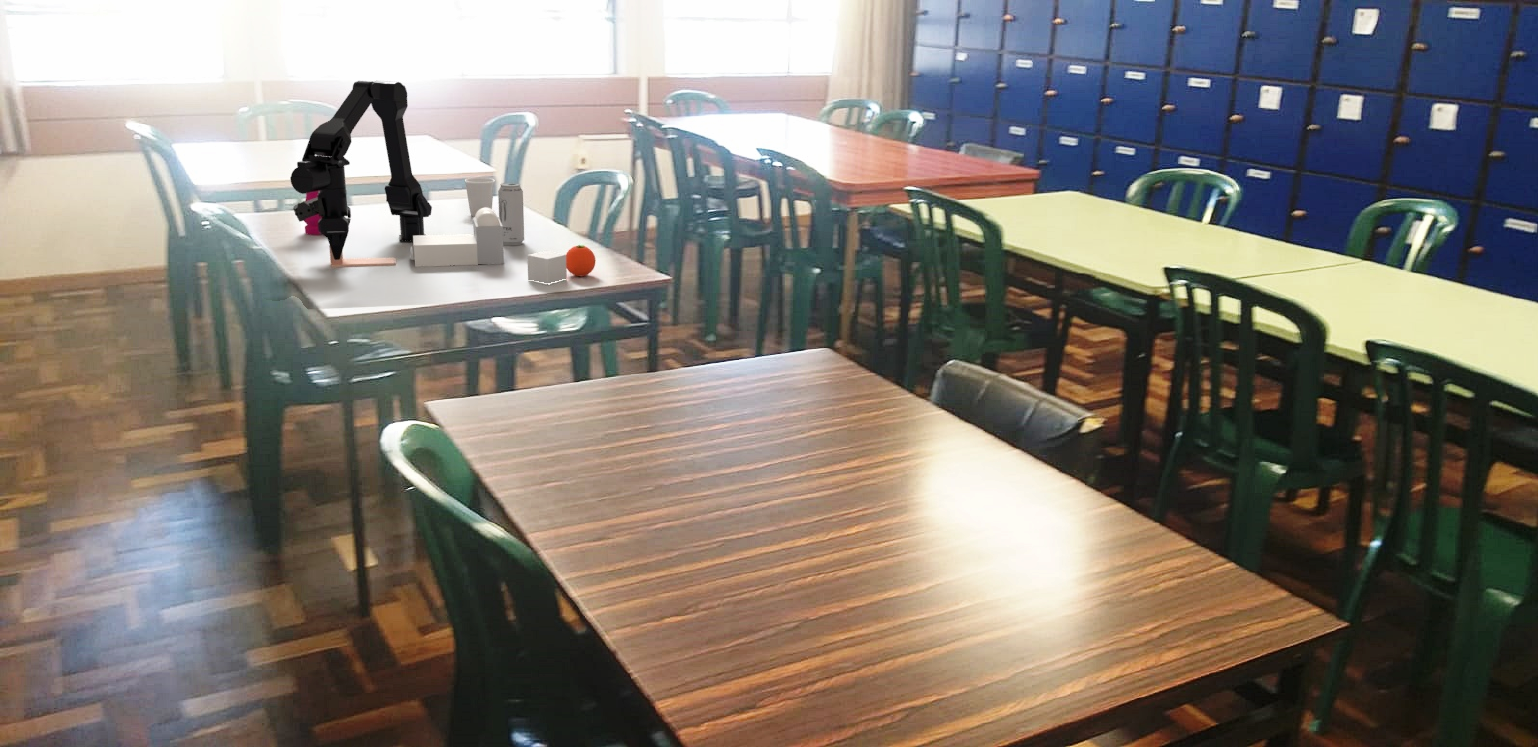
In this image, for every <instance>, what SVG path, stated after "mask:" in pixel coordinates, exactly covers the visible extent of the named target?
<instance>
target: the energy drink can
mask: <svg viewBox="0 0 1538 747" xmlns="http://www.w3.org/2000/svg"><path fill="white" fill-rule="evenodd" d="M497 192H498V194H497V195H498V196H497V198H498V217H499V219H500V221H501V223H502V226H503V246H511V247H512V246H515V247H516V246H520V245H522V244H523V242H524V241H525V223H524V222H525V217H524V190H523V189H522V187H521V184H520V183H517V182H502V183H500V186H499V189H498V191H497Z"/></svg>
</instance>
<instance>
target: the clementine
mask: <svg viewBox="0 0 1538 747" xmlns="http://www.w3.org/2000/svg"><path fill="white" fill-rule="evenodd" d="M565 255H566V270H567V271H568V272H569V273H570V274H572V275H573V276H575V277H584V276H587V275H589V274H591V273H592V271H593V270H594V268H595V267H596V256H595V253H594V252H593V251H592V249H591V248H589V247H587V246H585V244H581V245H580V244H579V245H575V246H573V247H571V248H570V249H568V250H567V252H566V253H565Z"/></svg>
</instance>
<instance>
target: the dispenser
mask: <svg viewBox="0 0 1538 747" xmlns="http://www.w3.org/2000/svg"><path fill="white" fill-rule="evenodd" d="M472 220H473V221H472V222H473V225H472V226H473V228H472V229H473V233H468V234H467V233H464V234H463V233H462V234H426V235H416V236H413V241H412V242H413V243H412V244H413V246H410V248H409V251H410V259H411V260H412V261H414V266H415V268H418V267H419V268H420V267H449V266H450V265H451V267H452V266H453V265H455V266H477V265H478V264H488V265H505V256H504V255H505V252H504V249H505V248H504V245H503V226H502V223H501V221H500V219H499V216H498V215H497V213H496V212H495V210H493V208H492V209H490V208H486V207H485V208H481V209H480V210H478V211H477V213H476V216H475V217H472ZM501 263H503V264H501ZM478 266H479V265H478Z"/></svg>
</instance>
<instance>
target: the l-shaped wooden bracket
mask: <svg viewBox="0 0 1538 747" xmlns="http://www.w3.org/2000/svg"><path fill="white" fill-rule="evenodd" d="M328 246H329V256H330V258H329V259H330V268H342V267H344V268H348V267H350V268H351V267H375V266H376V267H377V266H378V267H379V266H382V267H383V266H396V264H397V263H396V257H367V258H366V257H365V258H344V254H343V251H342V253H341V257H340V259H339V260H335V259H334V257H333V253H332V250H331V247H330V244H329V245H328Z"/></svg>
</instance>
